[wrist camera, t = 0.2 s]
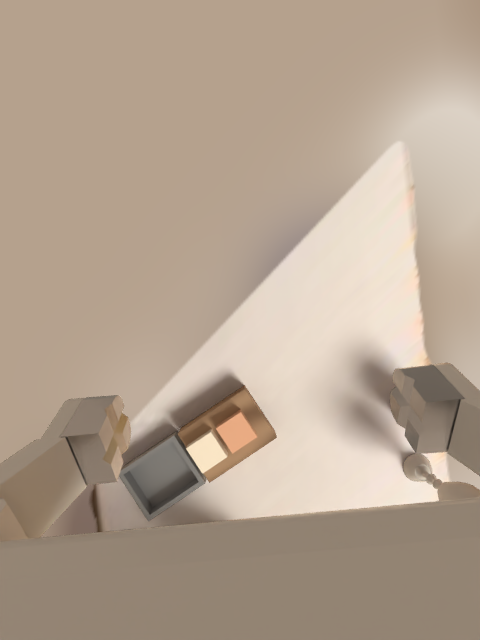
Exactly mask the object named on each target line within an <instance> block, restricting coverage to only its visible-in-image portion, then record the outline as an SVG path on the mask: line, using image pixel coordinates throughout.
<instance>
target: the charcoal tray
mask: <svg viewBox="0 0 480 640" xmlns="http://www.w3.org/2000/svg"><path fill="white" fill-rule="evenodd" d="M178 433H179V432H178V431H176V432H174V433H173V434H171V435H170V436H168V437H167V438H165V439H164V440H162V441H161V442H159V443H158V444H156V445H155V446H153V447H152V448H150V449H149V450H147V451H146V452H144V453H143V454H141V455H140V456H138V457H137V458H135V459H134V460H132V461H131V462H129V463H128V464H126V465H125V466H123V467H122V468H121V471H120V474H119V477H120V478H121V480H122V481H123V483H124V485H125V486H126V488H127V489H128V491H129V492H130V494H131V495H132V497H133V498H134V500H135V502H136V503H137V505H138V506H139V508H140V509H141V511H142V512H143V514H144V515H145V517H146V518H147V520H148V521H150V520H151V519H153V518H154V517H156V516H157V515H159V514H160V513H162V512H163V511H165V510H166V509H168V508H169V507H171V506H172V505H174V504H175V503H176V502H178V501H179V500H181V499H182V498H184V497H185V496H187V495H188V494H190V493H191V492H193V491H194V490H196V489H197V488H199V487H200V486H202V485H203V484H205V482H206V477H205V475H204V474H202V472H201V471H200V469H199V468H198V466H197V465H196V463H195V462H194V460H193V458H192V457H191V455H190V454H189V452H188V451H187V449H186V446H185V445H184V443H183V442H182V440H181V438H180V437H179V435H178Z"/></svg>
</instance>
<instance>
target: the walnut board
mask: <svg viewBox="0 0 480 640" xmlns="http://www.w3.org/2000/svg"><path fill="white" fill-rule="evenodd" d="M240 409H241V410H242V412H243V413H244V415H245V416H246V418H247V420H248V421H249V423H250V424H251V426H252V427H253V429H254V430H255V432H256V433H257V438H255V439H254V440H252V441H251V442H249V443H248V444H246V445H245V446H243V447H242V448H240V449H239V450H237V451H236V452H234V453H233V454H232V452H231V451H230V449H229V448H228V446H227V445H226V443H225V442H224V440H223V439H222V437H221V436H220V434H219V433H218V431H217V430H216V426H217V425H218V424H219V423H221V422H222V421H224V420H225V419H227V418H228V417H230V416H231V415H233V414H234V413H236V412H237V411H239V410H240ZM210 429H213V431H214V432H215V434H216V435H217V437H218V438H219V440H220V442H221V443H222V445H223V446H224V448H225V449H226V451H227V452H228V456H227V458H225V459H224V460H222V461H221V462H219V463H218V464H216V465H215V466H213V467H212V468H210V469H209V470H207V471H206V472H204V473H203V474H204V475H205V477H206V478H207V480H208V481H209V483H210V482H211V481H213V480H214V479H216V478H217V477H219V476H220V475H222V474H223V473H225V472H226V471H228V470H229V469H231V468H232V467H234V466H235V465H237V464H238V463H240V462H241V461H243V460H244V459H246V458H247V457H249V456H250V455H251V454H253V453H254V452H256V451H257V450H259V449H260V448H262V447H263V446H265V445H266V444H268V443H269V442H271V441H272V440H274V439H275V438H277V437H276V433H275V430H274V429H273V427H272V426H271V424H270V423H269V421H268V420H267V418H266V417H265V415H264V414H263V412H262V411H261V409H260V408H259V406H258V405H257V403H256V402H255V400H254V399H253V397H252V396H251V394H250V393H249V391H248V390H247V388H246V387H245V385H244V386H243V387H241V388H240V389H238V390H237V391H235V392H234V393H232V394H231V395H229V396H228V397H226V398H225V399H223V400H222V401H220V402H219V403H217V404H216V405H214V406H213V407H211V408H210V409H208V410H207V411H206V412H204V413H203V414H201V415H200V416H198V417H197V418H195V419H194V420H192V421H191V422H189V423H188V424H186V425H185V426H183V427H182V428H181V429H180V431H179V433H178V435H179V437H180V438H181V440H182V442H183V443H184V445H185V446H186V448H187V445H188V444H190V443H191V442H193V441H194V440H196V439H197V438H199V437H200V436H201V435H203V434H204V433H206V432H207V431H209V430H210Z"/></svg>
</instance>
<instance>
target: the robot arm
mask: <svg viewBox="0 0 480 640" xmlns="http://www.w3.org/2000/svg"><path fill="white" fill-rule="evenodd" d="M392 381H393V382H394V384H395V385H396V387H395V388H394V389H393V390H392V391H391V392H390V407H391V412H392V414H393V417H394V419H395V420H396V422H397V424H399V425H400V426H402V427H404V428H405V429H406V430H405V437H406V438H407V440H408V442H409V443H410V445H411V446H412V448H413V450H414V451H415V453H416V454H421V453H436V452H448V454H449V455H451V456H452V457H453V458H455V459H456V460H458V461H459V462H461V463H462V464H464V465H465V466H466V467H468V468H469V469H471V470H472V471H473V472H475V473H476V474H478V475H479V476H480V391H479V390H478V389H477V388H476V387H475V386H474V385H473V384H472V383H471V382H470V381H469V380H468V379H467V378H466V377H465V376H464V375H463V374H461V372H459V371H458V370H457V369H456V368H455V367H454V366H453V365H452V364H450V363H439V364H431V365H427V366H417V367H407V368H397V369H395V370H394V372H393V377H392ZM123 409H124V403H123V401H122V398H121V397H120V396H119V395H114V396H100V397H87V398H77V399H69V400H67V401H65V402H64V404H63V405H62V407H61V408H60V410H59V412H58V413H57V415H56V416H55V418H54V419H53V421H52V422H51V424H50V425H49V427H48V429H47V430H46V432H45V433H44V435H43V436H42V438H41V439H40V440H34V441H33V442H32V443H30V444H29V445H27V446H26V447H24V448H23V449H21V450H20V451H18V452H17V453H15V454H14V455H12V456H11V457H9V458H8V459H6V460H5V461H4V462H2V463H1V464H0V640H480V498H469V499H458V500H447V501H436V502H425V503H414V504H403V505H392V506H382V507H371V508H360V509H349V510H338V511H327V512H316V513H305V514H294V515H283V516H272V517H261V518H250V519H239V520H228V521H217V522H206V523H195V524H185V525H174V526H163V527H152V528H141V529H130V530H120V531H109V532H97V533H87V534H75V535H64V536H53V537H43V538H40V537H41V536H42V535H43V534H44V533H45V532H46V531H47V530H48V528H49V527H50V526H51V525H52V524H53V523H54V522H55V521H56V520H57V519H58V518H59V517H60V516H61V514H62V513H63V512H64V511H65V510H66V509H67V508H68V507H69V506H70V505H71V504H72V502H73V501H74V500H75V499H76V498H77V497H78V496H79V495H80V494H81V493H82V492H83V491H84V490H85V489H86V487H87V486H86V485H94V484H102V483H110V482H117V480H118V477H119V474H120V471H121V468H122V465H123V462H124V461H123V459H122V456H121V455H122V454H123V453H124V452H125V451H127V450H128V447H129V444H130V438H131V427H130V422H129V419H128V417H127V416H125V415H124V414H123V413H122V411H123Z"/></svg>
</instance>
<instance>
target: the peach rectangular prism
mask: <svg viewBox="0 0 480 640" xmlns="http://www.w3.org/2000/svg"><path fill="white" fill-rule="evenodd" d="M216 430H217V431H218V433H219V434H220V436H221V437H222V439H223V440H224V442H225V443H226V445H227V446H228V448H229V449H230V451H231V452H232V454H233V453H234V452H236V451H237V450H239V449H240V448H242V447H243V446H245V445H246V444H248V443H249V442H251V441H252V440H254V439H255V438H257V433H256V432H255V430H254V429H253V427H252V426H251V424H250V423H249V421H248V420H247V418H246V416H245V415H244V413H243V412H242V410H241V409H240V410H239V411H237V412H236V413H234V414H233V415H231V416H230V417H228V418H227V419H225V420H224V421H222V422H221V423H219V424H218V425H217V426H216Z"/></svg>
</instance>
